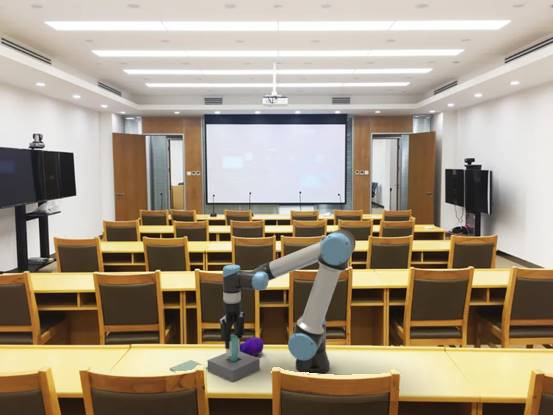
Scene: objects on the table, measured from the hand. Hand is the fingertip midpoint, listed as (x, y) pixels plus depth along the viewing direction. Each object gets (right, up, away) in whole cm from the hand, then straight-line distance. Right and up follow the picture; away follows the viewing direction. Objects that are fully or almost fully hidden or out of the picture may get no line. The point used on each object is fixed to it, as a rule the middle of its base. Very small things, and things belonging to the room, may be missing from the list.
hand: (233, 353), depth 204 cm
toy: (+5, -6, +18) cm, 20 cm away
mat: (-20, -8, +3) cm, 21 cm away
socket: (0, -8, +1) cm, 8 cm away
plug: (0, -6, +1) cm, 6 cm away
